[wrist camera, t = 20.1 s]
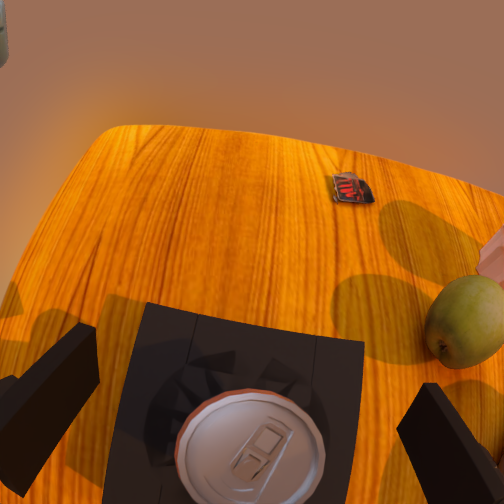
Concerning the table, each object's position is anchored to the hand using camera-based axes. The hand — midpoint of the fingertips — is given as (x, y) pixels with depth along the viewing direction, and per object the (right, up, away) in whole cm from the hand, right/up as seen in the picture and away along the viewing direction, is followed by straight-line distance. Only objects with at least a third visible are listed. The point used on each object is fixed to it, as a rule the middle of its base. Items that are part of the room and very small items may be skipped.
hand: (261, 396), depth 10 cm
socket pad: (-2, -8, +8) cm, 11 cm away
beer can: (-2, -8, +8) cm, 11 cm away
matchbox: (+10, +12, +21) cm, 26 cm away
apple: (+18, -3, +14) cm, 23 cm away
